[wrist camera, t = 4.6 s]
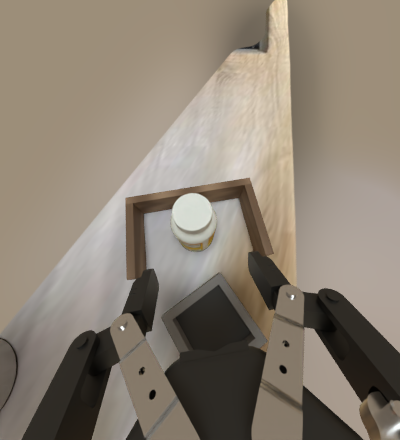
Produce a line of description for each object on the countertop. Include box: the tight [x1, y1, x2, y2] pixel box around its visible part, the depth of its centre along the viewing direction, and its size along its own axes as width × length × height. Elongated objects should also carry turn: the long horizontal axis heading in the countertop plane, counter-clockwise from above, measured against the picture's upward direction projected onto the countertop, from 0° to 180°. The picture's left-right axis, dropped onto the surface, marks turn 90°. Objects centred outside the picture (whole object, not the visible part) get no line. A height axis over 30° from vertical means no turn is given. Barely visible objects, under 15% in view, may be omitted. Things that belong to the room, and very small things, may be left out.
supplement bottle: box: [171, 193, 217, 252], centre depth 20 cm, size 5×5×10 cm
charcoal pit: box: [161, 273, 267, 353], centre depth 19 cm, size 9×9×2 cm
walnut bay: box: [126, 178, 274, 280], centre depth 22 cm, size 18×11×4 cm, turn 100°
